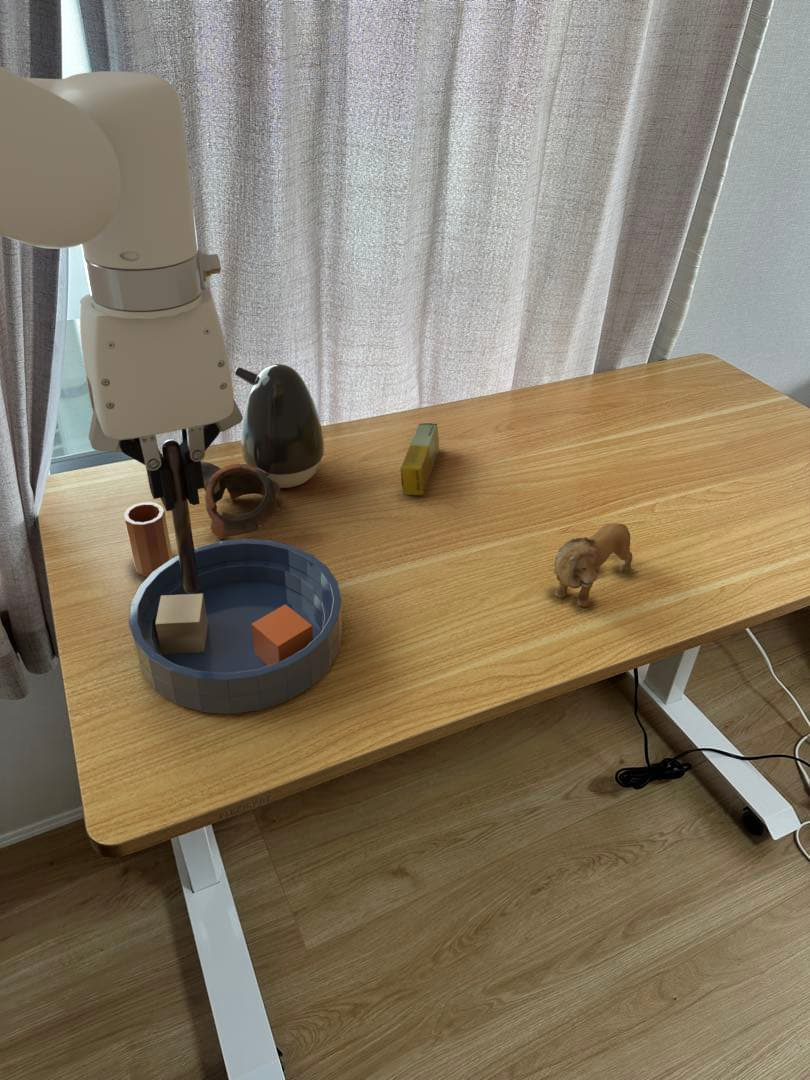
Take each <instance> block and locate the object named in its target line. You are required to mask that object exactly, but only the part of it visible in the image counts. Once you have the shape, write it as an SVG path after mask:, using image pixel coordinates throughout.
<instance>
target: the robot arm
mask: <svg viewBox="0 0 810 1080" xmlns="http://www.w3.org/2000/svg"><path fill="white" fill-rule="evenodd" d="M187 145H188V144H187V135H186V128H185V117H184V111H183V105H182V101H181V97H180V95H179V94H178V92H177V90H176V89H175V87H174V86H173V85H172V84H171V83H170V82H169V81H168V80H166V79H165V78H162V77H159V76H158V75H154V74H149V73H143V72H136V71H135V72H134V71H124V70H123V71H122V70H109V71H107V70H106V71H105V70H104V71H91V72H83V73H77V74H73V75H70V76H68V77H65V78H42V77H41V78H40V77H39V78H38V77H37V78H36V77H22V76H20V75H18V74H17V73H15V72H13V71H11V70H9V69H6V68H4V67H3V66H1V65H0V236H2V237H4V238H7V239H9V240H14V241H17V242H20V243H23V244H25V245H29V246H33V247H36V248H41V249H53V250H60V249H61V250H62V249H68V248H74V247H77V246H80V248H81V253H82V256H83V257H82V258H83V262H84V268H85V274H86V278H87V283H88V288H89V293H88V294H86V295H84V296H82V297H81V298H80V301H79V330H80V331H79V334H80V343H81V351H82V359H83V366H84V367H83V368H84V373H85V374H84V375H85V380H86V387H87V392H88V397H89V401H90V405H91V409H92V417H91V421H90V426H89V433H88V440H89V444H90V446H91V448H92V449H93V450H95V451H98V452H108V453H123V455H126V456H128V457H130V458H131V459H133V460H135V461H137V462H138V463H140V464H142V465H144V466H145V468H146V469H145V470H146V474H147V479H148V480H147V481H148V485H149V490H150V494H151V496H152V498H153V500H156V499H160V500H161V503H162V504H163V505H162V506H164V507H163V508H164V510H165V511H166V512H170V511H172V510H173V508H175V502H174V496H173V489H172V483H171V476H170V471H169V468H168V466H167V464H166V463H165V462H164V459H163V453H162V452H161V450H160V448H159V446H158V441H157V435H163V434H167V433H172V432H177V431H180V442H181V443H179V445H180V449H181V457H182V466H183V473H184V481H185V488H186V495H187V500H188V504H189V505H192V506H197V505H200V503H201V502H200V495H199V490H203V489H204V482H203V474H202V467H201V462H202V461H203V460H204V459H205V457H206V451H207V450H208V448H209V447H210V446H211V445H212V444H213V442H214V441H216V439H217V438H218V437H219V435H220V433H222V432H226V431H227V430H230V429H231V428H233V427H235V426H237V425H239V424H240V423H242V422H243V417H244V415H243V414H242V412H241V410H240V408H239V406H238V404H237V403H236V400H235V396H234V388H233V387H234V385H233V379H232V375H231V368H230V363H229V358H228V353H227V352H228V351H227V348H226V344H225V338H224V333H223V328H222V325H221V321H220V318H219V314H218V311H217V307H216V303H215V301H214V298H213V294H212V293H211V291H210V288H208V286H207V285H205V282H207V278H209V277H211V276H212V275H218V274H221V270H222V268H221V267H222V266H221V260H220V258H219V255H218V254H216V253H215V254H208V253H205V252H204V253H202V251H201V250H199V246H198V245H199V244H198V236H197V227H196V219H195V208H194V202H193V201H194V200H193V191H192V183H191V182H192V181H191V173H190V165H189V153H188V146H187Z"/></svg>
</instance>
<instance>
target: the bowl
mask: <svg viewBox="0 0 810 1080" xmlns="http://www.w3.org/2000/svg"><path fill="white" fill-rule="evenodd" d="M194 551H195V558H196V565H197V572H198V580H199V589H198V591H197V592H195V593H193V594H203V595H204V601H205V608H206V614H207V620H208V628H207V636H206V644H205V652H199V653H180V654H162V653H161V649H160V644H159V639H158V634H157V630H156V625H155V623H156V618H157V613H158V608H159V603H160V598H161V595H184V594H189V593H187V592H186V591H185V590H184V588H183V581H182V575H181V568H180V562H179V555H178V554H177V555H176V556H173V558H172V559H170V560H169V561H167V562H166V563H165V564H163V565H162V566H160V567H159V568H157V569H156V570H154V571H153V572H152V573H151V574H150V575H149V576H148V577H146V579H145V580H144V581H142V582H141V584H140V585H139V586H138V588H137V590H136V592H135V594H134V596H133V599H132V600H131V602H130V605H129V612H128V613H129V615H128V628H129V630H130V631H129V632H130V634H131V635H130V636H131V641H132V644H133V649H134V653H135V657H136V660H137V663H138V666H139V669H140V671H141V675H142V677H143V678H144V679H145V680H146V681H147V683H148V684H149V685H150V686H151V687H152V688H153V690H154V691H155V692H156V693H158V694H159V695H161V696H162V697H165V698H166V699H167V700H169V701H171V702H173V703H174V704H176V705H178V706H182V707H185V708H188V709H191V710H195V711H198V712H203V713H211V714H212V713H214V714H228V715H232V714H242V713H247V712H248V713H249V712H255V711H261V710H265V709H268V708H271V707H273V706H276V705H279V704H282V703H286V702H288V701H290V700H292V699H293V698H295V697H298V696H299V695H300V694H302V693H303V692H305V691H307V690H308V689H310V688H312V687H313V686H314V685H315V684H316V683H317V682H318V681H319V680H320V679H321V678H322V677H323V676H324V675H325V674H327V672H328V671H330V668H331V667H332V665H333V663H334V661H335V659H336V657H337V656H338V654H339V652H340V650H341V649H340V648H341V643H342V636H343V604H342V603H343V602H342V595H341V590H340V586H339V582H338V581H337V579H336V578H335V576H334V575H333V573H332V571H331V570H330V568H329V567H328V566H327V565H326V564H325V563H323V562H322V561H321V560H320V559H318V558H317V557H316V556H314V555H313V554H311V553H309V552H307V551H304V550H303V549H300V548H299V547H297V546H295V545H291V544H288V543H283V542H280V541H279V542H278V541H274V540H271V539H258V538H257V539H255V538H241V539H231V540H221V541H216V542H212V543H208V544H204V545H200V546H196V547H194ZM285 604H286V605H287V606H288V607H290V608H291V609H292V610H293V611H295V612H296V613H297V614H298V615H300V616H301V617H302V618H303V619H305V620H306V621H307V622H308V623H310V624H311V625H312V630H313V641H312V642H311V643H310V644H309V645H308V646H306V647H305V648H304V649H302V650H301V651H299V652H297V653H295V654H294V655H292V656H290V657H288V658H287V659H285V660H283V661H281V662H278V663H275V664H272V665H269V666H268V665H267V664H266V663H264V662H263V661H262V660H261V659H260V658H259V657H258V656H256V655H255V651H254V642H253V633H252V623H254V622H256V621H257V620H259V619H261V618H263V617H264V616H266V615H268V614H270V613H271V612H273V611H275V610H277V609H278V608H280V607H282V606H284V605H285Z"/></svg>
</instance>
